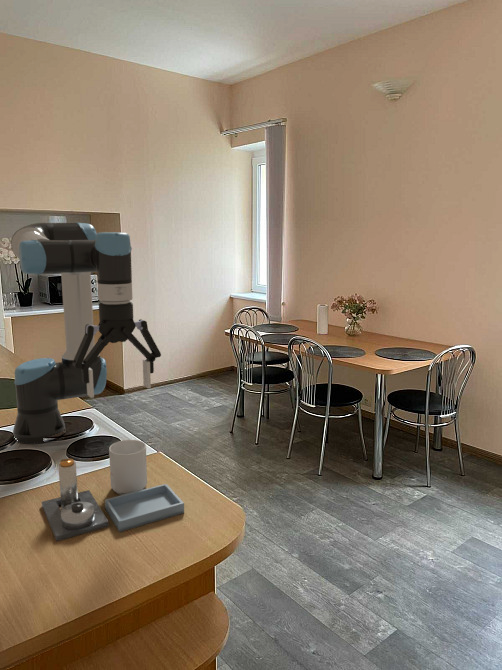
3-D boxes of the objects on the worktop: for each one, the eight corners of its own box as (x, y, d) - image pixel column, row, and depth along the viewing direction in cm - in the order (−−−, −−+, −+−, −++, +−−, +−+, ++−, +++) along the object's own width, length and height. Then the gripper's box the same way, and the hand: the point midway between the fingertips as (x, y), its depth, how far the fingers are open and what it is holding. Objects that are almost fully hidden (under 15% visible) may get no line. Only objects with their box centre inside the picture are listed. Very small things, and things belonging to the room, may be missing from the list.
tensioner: (41, 506, 124) (40, 488, 123) (89, 494, 130) (88, 477, 129) (56, 541, 111) (55, 521, 110) (108, 526, 116) (107, 507, 115)
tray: (119, 532, 114) (119, 521, 114) (105, 509, 123) (104, 499, 123) (184, 512, 122) (184, 503, 122) (166, 492, 131) (166, 483, 130)
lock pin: (59, 506, 124) (56, 459, 122) (76, 502, 126) (73, 456, 124) (63, 514, 121) (60, 466, 119) (80, 509, 123) (77, 462, 120)
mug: (150, 493, 131) (148, 451, 128) (113, 499, 128) (111, 456, 125) (142, 472, 142) (140, 433, 139) (108, 477, 139) (106, 437, 136)
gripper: (63, 308, 110) (69, 405, 115) (173, 299, 123) (175, 387, 128) (54, 303, 116) (60, 395, 121) (160, 295, 130) (162, 379, 134)
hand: (119, 391), depth 124 cm, fingers open, 13 cm apart
